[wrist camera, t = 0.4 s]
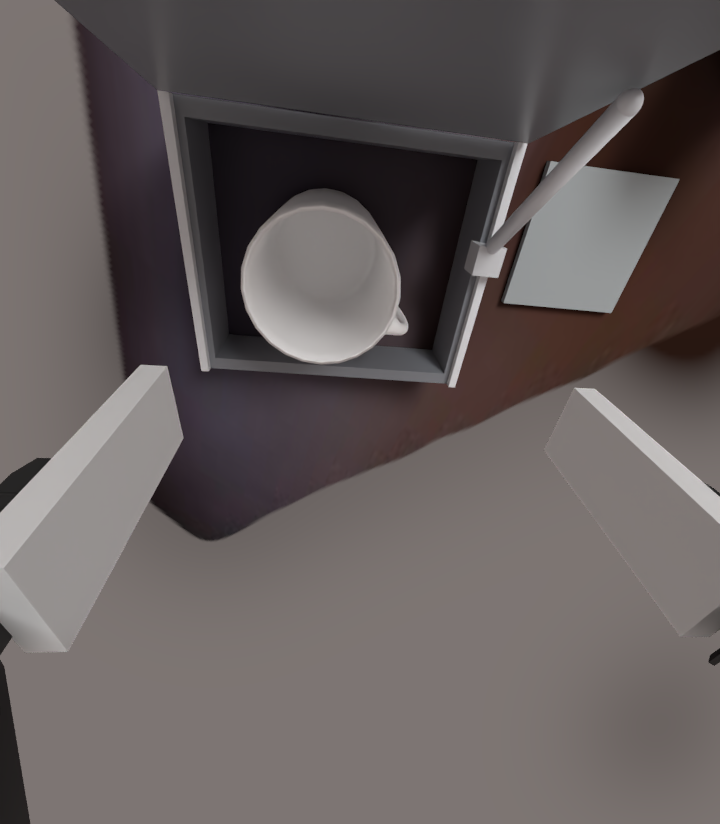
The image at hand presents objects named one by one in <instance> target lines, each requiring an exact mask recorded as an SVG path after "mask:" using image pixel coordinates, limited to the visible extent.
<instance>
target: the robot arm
mask: <svg viewBox="0 0 720 824" xmlns="http://www.w3.org/2000/svg"><path fill="white" fill-rule="evenodd" d="M182 440H183V434H182V429H181V425H180V420H179V416H178V411H177V407H176V403H175V398H174V394H173V389H172V385H171V380H170V376H169V371H168V367H167V366H153V365H140V366H139V367H138V368H137V369H136V370H135V371H134V372H133V373H132V374H131V375H130V376H129V377H128V379H127V380H126V381H125V382H124V383H123V384H122V385H121V386H120V387H119V388H118V389H117V390H116V391H115V392H114V393H113V395H111V396H110V397H109V399H108V400H107V401H106V402H105V403H104V404H103V405H102V406H101V407H100V408H99V409H98V410H97V411H96V412H95V413H94V414H93V415H92V417H91V418H90V419H89V420H88V421H87V422H86V423H85V424H84V425H83V426H82V427H81V428H80V429H79V430H78V431H77V432H76V433H75V434H74V435H73V437H72V438H71V439H70V440H69V441H68V442H67V443H66V444H65V445H64V446H63V447H62V448H61V449H60V450H59V451H58V452H57V453H56V454H55V456H53V458H37V459H35V460H33V461H32V462H30V463H28V464H27V465H25V466H23V467H22V468H20V469H18V470H16V471H15V472H13V473H11V474H10V476H8V477H7V478H6V479H5V480H4V481H3V482H2V483H1V484H0V654H1V653H2V651H3V650H4V648H5V647H6V645H7V644H8V643H9V641H10V640H11V638H12V639H13V640H14V641H15V642H16V644H17V645H18V646H19V647H20V648H21V649H22V650H23V651H24V652H25V653H30V652H68V650H69V649H70V647H71V645H72V643H73V641H74V639H75V637H76V636H77V634H78V632H79V630H80V628H81V627H82V625H83V623H84V621H85V619H86V617H87V615H88V614H89V612H90V610H91V608H92V606H93V604H94V602H95V601H96V599H97V597H98V595H99V593H100V591H101V590H102V588H103V586H104V584H105V582H106V580H107V578H108V576H109V575H110V573H111V571H112V569H113V567H114V566H115V564H116V562H117V560H118V558H119V556H120V554H121V553H122V551H123V549H124V547H125V545H126V543H127V541H128V539H129V538H130V536H131V534H132V532H133V530H134V528H135V527H136V525H137V523H138V521H139V519H140V517H141V515H142V514H143V512H144V510H145V508H146V506H147V504H148V503H149V501H150V499H151V497H152V495H153V494H154V492H155V490H156V488H157V486H158V484H159V482H160V481H161V479H162V477H163V475H164V473H165V471H166V469H167V468H168V466H169V464H170V462H171V460H172V458H173V457H174V455H175V453H176V451H177V449H178V447H179V445H180V444H181V442H182ZM544 451H545V453H546V454H547V455H548V457H549V458H550V460H551V461H552V462H553V464H554V465H555V466H556V468H557V469H558V470H559V472H560V473H561V475H562V476H563V477H564V479H565V480H566V481H567V483H568V484H569V486H570V487H571V488H572V490H573V491H574V492H575V494H576V495H577V497H578V498H579V499H580V501H581V502H582V503H583V505H584V506H585V508H586V509H587V510H588V512H589V513H590V514H591V516H592V517H593V518H594V520H595V521H596V523H597V524H598V525H599V527H600V528H601V529H602V531H603V532H604V534H605V535H606V536H607V537H608V539H609V540H610V542H611V543H612V544H613V546H614V547H615V548H616V550H617V551H618V553H619V554H620V555H621V557H622V558H623V559H624V561H625V562H626V564H627V565H628V566H629V568H630V569H631V570H632V572H633V573H634V575H635V576H636V577H637V579H638V580H639V581H640V583H641V584H642V585H643V587H644V588H645V590H646V591H647V592H648V594H649V595H650V596H651V598H652V599H653V600H654V602H655V603H656V605H657V606H658V607H659V609H660V610H661V611H662V613H663V614H664V615H665V617H666V618H667V620H668V621H669V622H670V624H671V625H672V626H673V628H674V629H675V631H676V632H677V633H678V635H679V636H680V637H710V636H712V635H713V634H714V633H716V632H717V631H718V630H720V493H719V492H717V491H716V490H715V489H714V488H712V487H711V486H709V485H707V484H706V483H704V482H702V481H701V480H700V479H699V478H697V477H696V476H695V475H694V474H693V473H691V472H690V471H689V470H688V469H687V468H686V467H685V466H684V465H682V464H681V463H680V462H679V461H678V460H677V459H676V458H674V457H673V456H672V455H671V454H670V453H668V452H667V451H666V450H665V449H664V448H663V447H662V446H660V445H659V444H658V443H657V442H656V441H655V440H654V439H652V438H651V437H650V436H649V435H648V434H647V433H645V432H644V431H643V430H642V429H641V428H640V427H639V426H637V425H636V424H635V423H634V422H633V421H631V420H630V419H629V418H628V417H627V416H626V415H625V414H623V413H622V412H621V411H620V410H619V409H618V408H617V407H615V406H614V405H613V404H612V403H611V402H610V401H608V400H607V399H606V398H605V397H604V396H603V395H602V394H600V393H599V392H598V391H597V390H596V389H588V388H574V389H573V391H572V393H571V395H570V398H569V399H568V401H567V403H566V405H565V407H564V409H563V411H562V414H561V416H560V418H559V420H558V422H557V424H556V426H555V428H554V430H553V432H552V434H551V436H550V438H549V440H548V443H547V445H546V446H545V449H544ZM719 662H720V649H718V650H717V651H715V652H714V653H712V654H711V655H710V658H709V663H711V664H712V665H714V666H715V665H716V664H717V663H719ZM0 824H30V819H29V813H28V807H27V801H26V796H25V789H24V784H23V777H22V771H21V766H20V759H19V753H18V747H17V741H16V735H15V729H14V723H13V717H12V712H11V705H10V699H9V693H8V687H7V681H6V675H5V669H4V666H3V664H2V662H1V660H0Z"/></svg>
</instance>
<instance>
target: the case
mask: <svg viewBox="0 0 720 824" xmlns="http://www.w3.org/2000/svg"><path fill="white" fill-rule="evenodd" d="M157 91H158V98H159V104H160V110H161V117H162V123H163V129H164V136H165V142H166V149H167V155H168V161H169V168H170V174H171V180H172V187H173V193H174V200H175V206H176V212H177V219H178V225H179V231H180V238H181V244H182V251H183V257H184V263H185V270H186V276H187V282H188V289H189V295H190V302H191V308H192V314H193V321H194V327H195V333H196V340H197V346H198V353H199V359H200V365H201V371H209V370H210V368H217V369H232V370H247V371H263V372H278V373H293V374H308V375H324V376H339V377H354V378H369V379H385V380H400V381H415V382H431V383H446V384H447V385H448V387H455V385H456V382H457V379H458V375H459V372H460V369H461V365H462V362H463V359H464V355H465V352H466V348H467V345H468V342H469V338H470V335H471V332H472V328H473V325H474V322H475V318H476V315H477V312H478V308H479V305H480V301H481V298H482V295H483V291H484V288H485V285H486V281H487V278H488V277H494V278H498V277H499V273H500V270H501V267H502V264H503V261H504V257H505V254H506V251H507V249H506V248H505V247H503V246H504V245H505V244H506V243H507V242H508V241H509V240H510V239H511V238H512V237H513V236H514V235H515V234H516V233H517V232H518V231H519V230H520V229H521V228H522V227H523V226H524V225H525V224H526V223H527V222H528V221H529V220H530V219H531V218H532V217H533V216H534V215H535V214H536V213H537V212H538V211H539V210H540V209H541V208H542V207H543V206H544V205H545V204H546V203H547V202H548V201H549V200H550V199H551V198H552V197H553V196H554V195H555V194H556V193H557V192H558V191H559V190H560V189H561V188H562V187H563V186H564V185H565V184H566V183H567V182H568V181H569V180H570V179H571V178H572V177H573V176H574V175H575V174H576V173H577V172H578V171H579V170H580V169H581V168H582V167H583V166H584V165H585V164H586V163H587V162H588V161H589V160H591V159H592V158H593V157H594V156H595V155H596V154H597V153H598V152H599V151H600V150H601V149H602V148H603V147H604V146H605V145H606V144H607V143H608V142H609V141H610V140H611V139H612V138H613V137H614V136H615V135H616V134H617V133H618V132H619V131H620V130H621V129H622V128H623V127H624V126H625V125H626V124H627V123H628V122H629V121H630V120H631V119H632V118H633V117H634V116H635V115H636V114H637V113H638V112H639V110H640V109H641V107H642V105H643V102H644V95H643V92H642V91H641V90H640V89H638V88H630V89H627V90H625V91H624V92H622V93H621V94H620V95H619V96H618V97H617V99H616V100H615V101H614V102H613V103H612V104H611V105H610V106H609V107H608V109H607V110H606V111H605V112H604V113H603V114H602V115H601V116H600V117H599V119H598V120H597V121H596V122H595V123H594V124H593V125H592V126H591V127H590V129H589V130H588V131H587V132H586V133H585V134H584V135H583V136H582V137H581V139H580V140H579V141H578V142H577V143H576V144H575V145H574V146H573V147H572V149H571V150H570V151H569V152H568V153H567V154H566V155H565V156H564V157H563V159H562V160H561V161H560V162H559V163H558V164H557V165H556V166H555V167H554V169H553V170H552V171H551V172H550V173H549V174H548V175H547V176H546V177H545V179H544V180H543V181H542V182H541V183H540V184H539V185H538V186H537V187H536V189H535V190H534V191H533V192H532V193H531V194H530V195H529V196H528V197H527V199H526V200H525V201H524V202H523V203H522V204H521V205H520V206H519V207H518V209H517V210H516V211H515V212H514V213H513V214H512V215H511V216H510V217H509V219H508V220H507V221H506V222H505V223H504V221H505V218H506V214H507V211H508V208H509V204H510V201H511V197H512V194H513V191H514V187H515V184H516V181H517V177H518V174H519V171H520V167H521V164H522V161H523V157H524V154H525V150H526V147H527V143H520V142H516V143H514V142H507V141H500V140H493V139H486V138H479V137H472V136H465V135H458V134H451V133H444V132H437V131H431V130H424V129H417V128H410V127H403V126H396V125H389V124H382V123H375V122H368V121H361V120H354V119H347V118H340V117H333V116H326V115H319V114H312V113H305V112H298V111H291V110H284V109H277V108H270V107H263V106H256V105H250V104H243V103H236V102H229V101H222V100H215V99H208V98H201V97H194V96H187V95H180V94H173V93H170V92H165V91H159V90H157ZM208 123H213V124H220V125H228V126H235V127H242V128H250V129H257V130H264V131H272V132H279V133H286V134H294V135H301V136H308V137H315V138H323V139H330V140H337V141H345V142H352V143H359V144H367V145H374V146H381V147H389V148H396V149H403V150H411V151H418V152H425V153H433V154H440V155H447V156H455V157H462V158H469V159H477V160H478V161H477V165H476V169H475V173H474V177H473V181H472V186H471V190H470V194H469V198H468V202H467V206H466V211H465V215H464V219H463V223H462V227H461V231H460V236H459V240H458V244H457V248H456V252H455V256H454V260H453V265H452V269H451V273H450V277H449V281H448V285H447V290H446V294H445V298H444V302H443V306H442V310H441V315H440V319H439V323H438V327H437V331H436V335H435V340H434V344H433V348H432V350H429V349H416V348H403V347H389V346H376V345H375V346H374V347H373V348H371V349H370V350H368V351H367V352H365V353H363V354H362V355H360V356H358V357H357V358H354V359H351V360H348V361H345V362H342V363H334V364H322V365H321V364H314V363H308V362H302V361H300V360H297V359H295V358H292V357H290V356H287V355H285V354H284V353H282V352H281V351H279V350H278V349H276V348H275V347H273V346H272V345H271V344H269V343H268V342H267V341H266V339H265V338H264V337H257V336H244V335H231V334H229V327H228V317H227V308H226V298H225V288H224V278H223V268H222V258H221V248H220V238H219V229H218V219H217V209H216V199H215V189H214V179H213V169H212V160H211V150H210V140H209V130H208Z"/></svg>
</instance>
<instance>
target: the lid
mask: <svg viewBox="0 0 720 824" xmlns="http://www.w3.org/2000/svg"><path fill="white" fill-rule="evenodd" d="M55 1H56V2H57V3H58V4H59V5H61V6H62V7H63V8H64V9H65V10H66V11H67V12H69V13H70V14H71V15H72V16H73V17H74V18H75V19H77V20H78V21H79V22H80V23H81V24H82V25H83V26H85V27H86V28H87V29H88V30H89V31H90V32H91V33H93V34H94V35H95V36H96V37H97V38H98V39H99V40H100V41H102V42H103V43H104V44H105V45H106V46H107V47H108V48H110V49H111V50H112V51H113V52H114V53H115V54H116V55H118V56H119V57H120V58H121V59H122V60H123V61H124V62H126V63H127V64H128V65H129V66H130V67H131V68H132V69H134V70H135V71H136V72H137V73H138V74H139V75H140V76H142V77H143V78H144V79H145V80H146V81H147V82H148V83H150V84H151V85H152V86H153V87H154V88H155V89H156V90H163V91H170V92H177V93H184V94H191V95H198V96H205V97H212V98H218V99H225V100H232V101H239V102H246V103H253V104H260V105H267V106H274V107H281V108H288V109H295V110H302V111H309V112H316V113H323V114H330V115H336V116H343V117H350V118H357V119H364V120H371V121H378V122H385V123H392V124H399V125H406V126H413V127H420V128H427V129H434V130H441V131H447V132H454V133H461V134H468V135H475V136H482V137H489V138H496V139H503V140H510V141H517V142H524V143H530V142H532V141H534V140H536V139H538V138H541V137H543V136H545V135H547V134H549V133H551V132H553V131H555V130H557V129H559V128H561V127H563V126H565V125H567V124H569V123H571V122H573V121H575V120H577V119H579V118H581V117H583V116H586V115H588V114H590V113H592V112H594V111H596V110H598V109H600V108H602V107H604V106H606V105H608V104H610V103H612V102H614V101H615V100H616V99H617V97H618V96H619V95H620V94H621V93H622V92H624V91H625V90H627V89H630V88H638V89H641V88H643V87H645V86H647V85H649V84H651V83H653V82H655V81H657V80H659V79H661V78H663V77H665V76H667V75H669V74H671V73H673V72H676V71H678V70H680V69H682V68H684V67H686V66H688V65H690V64H692V63H694V62H696V61H698V60H700V59H702V58H704V57H706V56H708V55H710V54H712V53H714V52H716V51H718V50H720V0H55Z"/></svg>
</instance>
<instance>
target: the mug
mask: <svg viewBox="0 0 720 824" xmlns="http://www.w3.org/2000/svg"><path fill="white" fill-rule="evenodd" d="M241 293H242V297H243V301H244V305H245V309H246V311H247V313H248V315H249V317H250V319H251V321H252V323H253V324H254V326H255V328H256V329H257V330H258V332H259V333H260V334H261V335H262V336H263V337H264V338H265V339H266V341H267V342H268V343H269V344H271V345H272V346H273V347H275V348H276V349H278V350H279V351H281V352H282V353H284V354H285V355H287V356H290V357H292V358H295V359H297V360H300V361H302V362H308V363H314V364H321V365H322V364H334V363H342V362H345V361H348V360H351V359H354V358H357V357H358V356H360V355H362V354H363V353H365V352H367V351H368V350H370V349H371V348H373V347H374V346H375V345H376V344H377V343H378V342H379V341H380V340H381V339H382V337H383V336H384V335H385V334H387V335H403V334H405V333H406V332H407V331H408V322H407V320H406V317H405V316H404V314H403V312H402V311H401V309H400V308H399V306H398V305H399V302H400V298H401V276H400V272H399V268H398V265H397V261H396V257H395V255H394V253H393V251H392V249H391V247H390V246H389V244H388V242H387V240H386V239H385V237H384V235H383V234H382V232H381V230H380V229H379V227H378V226H377V224H376V222H375V221H374V219H373V218H372V216H371V214H370V213H369V212H368V211H367V210H366V209H365V208H364V207H363V206H362V205H361V204H360V202H359V201H358V200H356V199H354V198H352V197H351V196H349V195H347V194H345V193H344V192H341V191H336V190H332V189H328V188H322V189H310V190H307V191H305V192H302V193H300V194H297V195H295V196H294V197H292V198H291V199H290V200H289V201H288V202H286V203H285V204H284V205H283V206H282V207H281V208H279V209H278V210H277V211H276V212H275V213H274V214H273V215H272V216H271V217H270V218H269V219H268V220H267V221H266V222H265V223H264V224H263V225H262V226H261V227H260V228H259V230H258V231H257V233H256V234H255V236H254V237H253V239H252V240H251V242H250V243H249V245H248V247H247V250H246V253H245V256H244V260H243V263H242V266H241Z"/></svg>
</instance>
